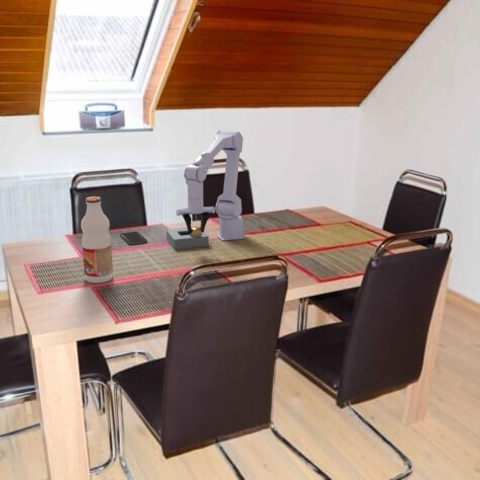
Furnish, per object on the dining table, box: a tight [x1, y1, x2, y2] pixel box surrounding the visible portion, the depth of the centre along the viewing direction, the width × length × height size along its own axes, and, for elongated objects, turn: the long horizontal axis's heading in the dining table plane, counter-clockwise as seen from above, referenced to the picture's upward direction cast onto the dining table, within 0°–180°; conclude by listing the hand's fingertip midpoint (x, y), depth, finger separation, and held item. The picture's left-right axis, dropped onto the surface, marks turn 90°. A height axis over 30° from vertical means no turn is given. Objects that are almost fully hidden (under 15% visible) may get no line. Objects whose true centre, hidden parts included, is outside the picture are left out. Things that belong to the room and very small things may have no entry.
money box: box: [165, 227, 210, 250], centre depth 225 cm, size 14×14×4 cm
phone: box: [119, 231, 148, 246], centre depth 229 cm, size 8×1×15 cm
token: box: [190, 226, 202, 238], centre depth 211 cm, size 4×4×3 cm
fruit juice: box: [80, 195, 114, 284], centre depth 184 cm, size 9×9×28 cm
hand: (196, 232), depth 211 cm, fingers closed on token, 4 cm apart
